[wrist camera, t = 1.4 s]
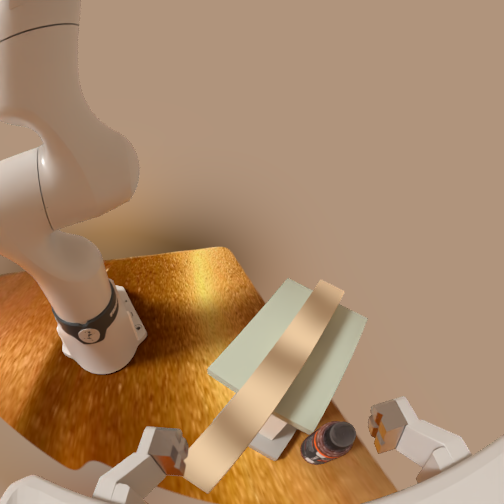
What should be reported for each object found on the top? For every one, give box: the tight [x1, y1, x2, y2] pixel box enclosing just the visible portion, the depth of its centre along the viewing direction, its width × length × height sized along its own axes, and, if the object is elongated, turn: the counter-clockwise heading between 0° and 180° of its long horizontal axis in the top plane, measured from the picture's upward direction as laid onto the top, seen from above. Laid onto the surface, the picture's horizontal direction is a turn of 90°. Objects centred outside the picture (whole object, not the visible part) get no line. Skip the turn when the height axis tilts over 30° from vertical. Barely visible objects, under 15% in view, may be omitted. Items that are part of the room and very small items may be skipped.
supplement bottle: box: [301, 421, 356, 465], centre depth 33 cm, size 6×6×11 cm
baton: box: [183, 280, 345, 493], centre depth 20 cm, size 22×3×2 cm, turn 147°
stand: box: [208, 278, 367, 461], centre depth 32 cm, size 14×12×26 cm
